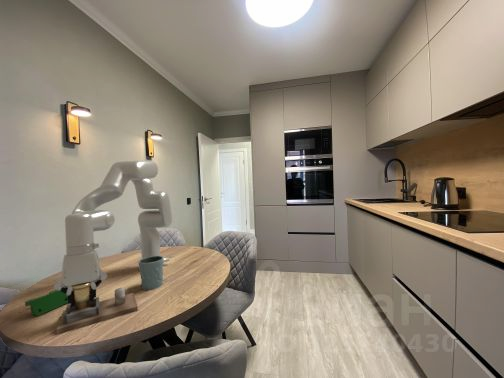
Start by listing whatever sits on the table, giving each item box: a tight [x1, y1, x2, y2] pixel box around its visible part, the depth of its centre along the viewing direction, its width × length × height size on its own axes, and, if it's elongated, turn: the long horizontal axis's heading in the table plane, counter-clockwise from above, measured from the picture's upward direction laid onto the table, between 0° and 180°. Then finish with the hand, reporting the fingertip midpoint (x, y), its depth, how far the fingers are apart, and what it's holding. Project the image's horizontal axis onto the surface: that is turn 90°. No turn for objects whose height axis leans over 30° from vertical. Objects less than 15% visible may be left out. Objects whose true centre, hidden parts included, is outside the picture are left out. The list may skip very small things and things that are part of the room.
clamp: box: [24, 286, 69, 317], centre depth 84 cm, size 12×6×9 cm, turn 154°
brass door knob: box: [72, 282, 92, 310], centre depth 77 cm, size 6×6×8 cm
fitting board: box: [56, 287, 139, 335], centre depth 80 cm, size 22×13×6 cm, turn 123°
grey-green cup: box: [138, 255, 164, 291], centre depth 101 cm, size 10×10×12 cm
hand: (82, 302), depth 77 cm, fingers closed on brass door knob, 4 cm apart
